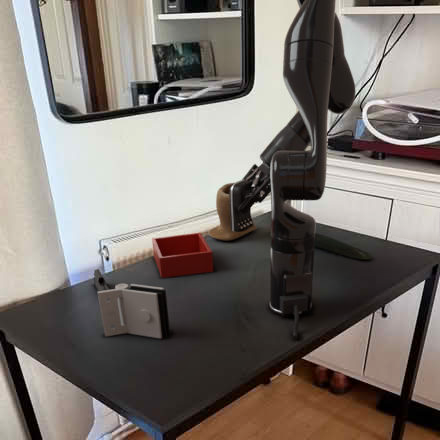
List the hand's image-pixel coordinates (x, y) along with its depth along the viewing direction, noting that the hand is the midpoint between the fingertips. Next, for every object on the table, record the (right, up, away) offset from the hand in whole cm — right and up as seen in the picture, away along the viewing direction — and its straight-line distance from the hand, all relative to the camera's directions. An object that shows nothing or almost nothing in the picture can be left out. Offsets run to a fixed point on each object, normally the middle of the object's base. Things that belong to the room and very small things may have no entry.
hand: (237, 207), depth 138 cm
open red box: (-14, -11, +14) cm, 23 cm away
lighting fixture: (-31, -23, -2) cm, 39 cm away
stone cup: (0, +1, +31) cm, 31 cm away
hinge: (-22, -33, -17) cm, 43 cm away
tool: (+25, -6, +19) cm, 32 cm away
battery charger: (+2, -5, +3) cm, 6 cm away
